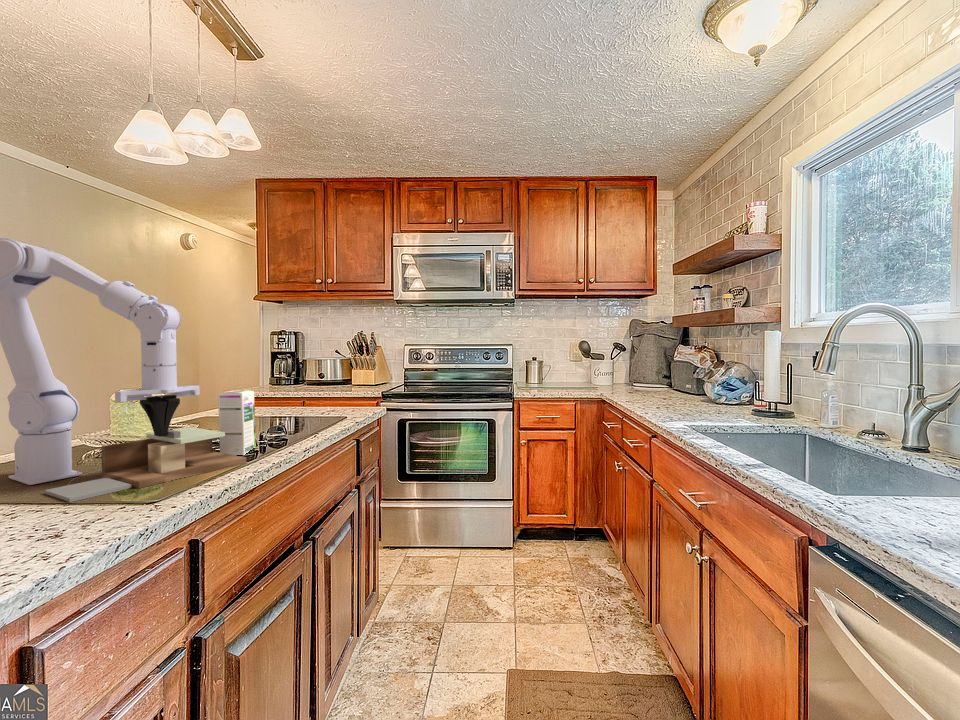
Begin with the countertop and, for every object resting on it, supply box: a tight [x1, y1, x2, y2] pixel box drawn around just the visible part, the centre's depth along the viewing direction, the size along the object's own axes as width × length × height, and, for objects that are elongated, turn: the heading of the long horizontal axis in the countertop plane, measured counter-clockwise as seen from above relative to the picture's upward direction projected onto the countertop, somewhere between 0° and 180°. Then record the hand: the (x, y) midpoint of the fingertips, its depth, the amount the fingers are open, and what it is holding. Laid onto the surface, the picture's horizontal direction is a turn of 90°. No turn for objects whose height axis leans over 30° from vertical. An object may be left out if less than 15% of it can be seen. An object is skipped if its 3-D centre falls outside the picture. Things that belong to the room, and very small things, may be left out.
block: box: [148, 441, 185, 474], centre depth 97 cm, size 4×4×6 cm
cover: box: [145, 426, 225, 444], centre depth 101 cm, size 12×9×2 cm
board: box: [100, 428, 247, 489], centre depth 99 cm, size 13×21×6 cm, turn 151°
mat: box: [44, 477, 132, 503], centre depth 85 cm, size 9×9×1 cm
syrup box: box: [217, 389, 257, 456], centre depth 114 cm, size 6×6×14 cm
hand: (160, 435), depth 96 cm, fingers closed
